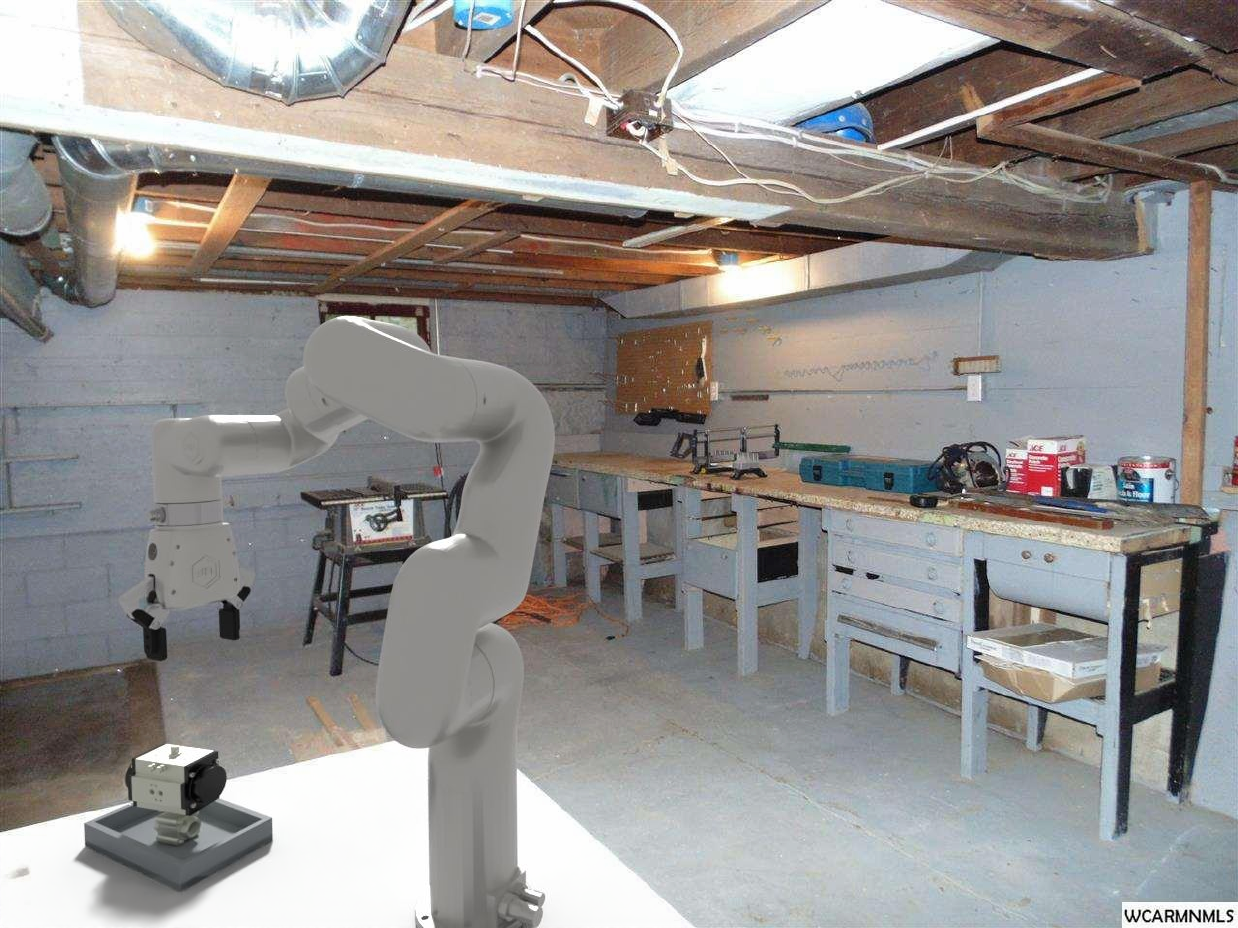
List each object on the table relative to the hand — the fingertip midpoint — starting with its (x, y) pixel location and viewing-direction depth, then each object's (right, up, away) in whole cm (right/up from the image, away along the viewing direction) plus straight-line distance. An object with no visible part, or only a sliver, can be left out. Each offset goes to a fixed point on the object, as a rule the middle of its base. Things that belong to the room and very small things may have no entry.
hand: (194, 648), depth 95 cm
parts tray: (-2, -25, 0) cm, 25 cm away
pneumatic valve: (-2, -24, -1) cm, 24 cm away
